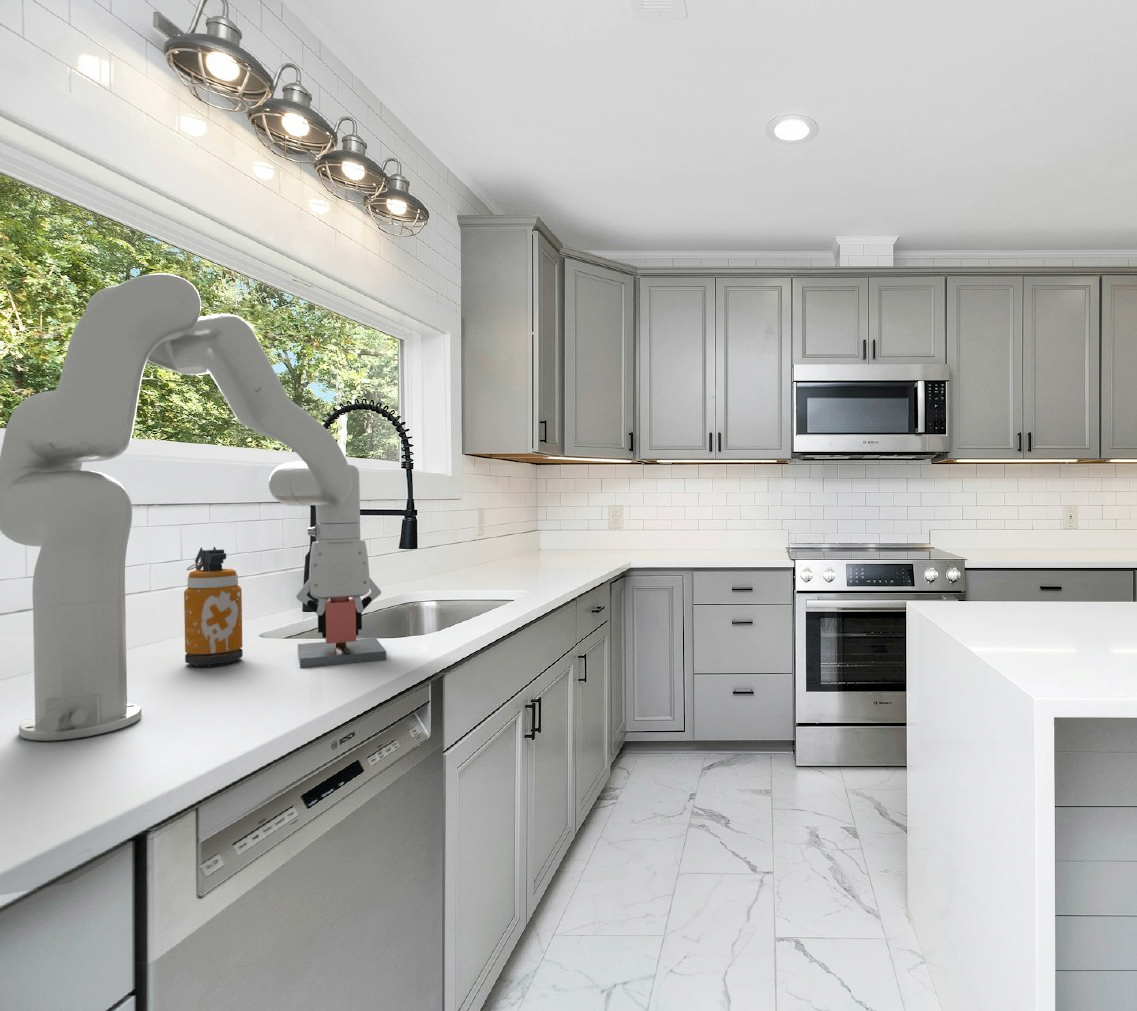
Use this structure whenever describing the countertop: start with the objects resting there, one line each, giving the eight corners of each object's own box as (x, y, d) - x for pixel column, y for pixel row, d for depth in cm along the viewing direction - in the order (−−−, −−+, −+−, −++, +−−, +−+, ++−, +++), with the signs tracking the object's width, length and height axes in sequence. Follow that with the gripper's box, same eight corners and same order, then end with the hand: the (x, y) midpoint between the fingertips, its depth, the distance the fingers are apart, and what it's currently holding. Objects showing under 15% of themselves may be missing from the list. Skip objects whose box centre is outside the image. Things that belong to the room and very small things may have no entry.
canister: (193, 671, 120) (191, 549, 120) (176, 660, 129) (174, 547, 129) (249, 662, 126) (247, 546, 126) (229, 653, 135) (228, 544, 134)
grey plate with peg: (386, 660, 126) (385, 625, 126) (300, 668, 121) (299, 632, 121) (375, 645, 140) (375, 614, 140) (297, 652, 135) (297, 619, 134)
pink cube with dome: (356, 641, 129) (355, 594, 129) (326, 643, 127) (325, 596, 127) (353, 636, 134) (352, 591, 134) (324, 638, 132) (323, 593, 132)
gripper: (288, 535, 124) (289, 643, 124) (389, 532, 130) (391, 635, 130) (287, 534, 131) (289, 636, 131) (384, 531, 137) (385, 628, 137)
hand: (340, 634), depth 131 cm, fingers closed on pink cube with dome, 4 cm apart
